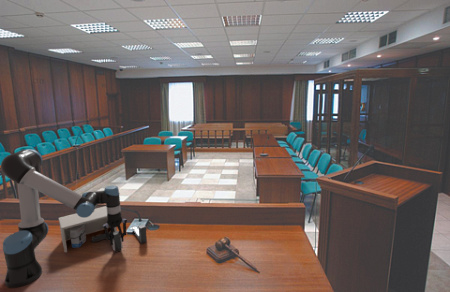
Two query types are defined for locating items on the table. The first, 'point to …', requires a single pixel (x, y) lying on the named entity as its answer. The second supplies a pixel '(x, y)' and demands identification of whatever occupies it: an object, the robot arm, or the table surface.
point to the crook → (103, 236)
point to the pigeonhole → (90, 222)
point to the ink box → (78, 235)
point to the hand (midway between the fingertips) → (117, 248)
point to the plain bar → (140, 233)
